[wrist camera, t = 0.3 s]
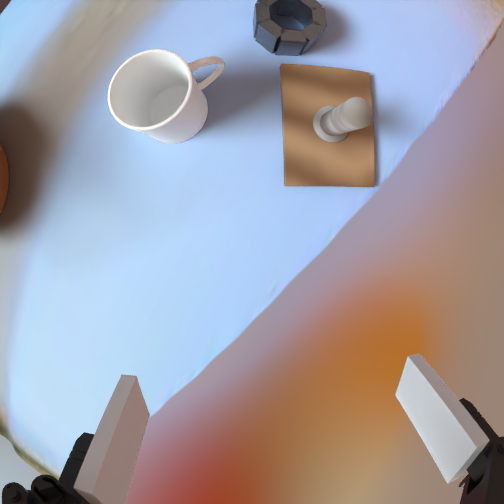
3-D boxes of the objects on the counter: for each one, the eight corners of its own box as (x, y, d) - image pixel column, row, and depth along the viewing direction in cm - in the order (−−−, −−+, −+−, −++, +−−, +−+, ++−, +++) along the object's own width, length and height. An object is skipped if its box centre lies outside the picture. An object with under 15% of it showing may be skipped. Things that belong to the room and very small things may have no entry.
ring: (252, 6, 29) (254, -12, 24) (312, 9, 29) (321, -7, 25) (254, 54, 31) (257, 39, 27) (318, 57, 32) (328, 44, 27)
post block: (279, 66, 32) (294, 34, 22) (365, 74, 32) (401, 52, 23) (284, 185, 36) (301, 192, 27) (370, 186, 37) (410, 194, 27)
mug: (214, 59, 31) (205, 17, 20) (243, 112, 34) (246, 87, 22) (133, 101, 32) (93, 78, 21) (159, 155, 35) (125, 151, 23)
